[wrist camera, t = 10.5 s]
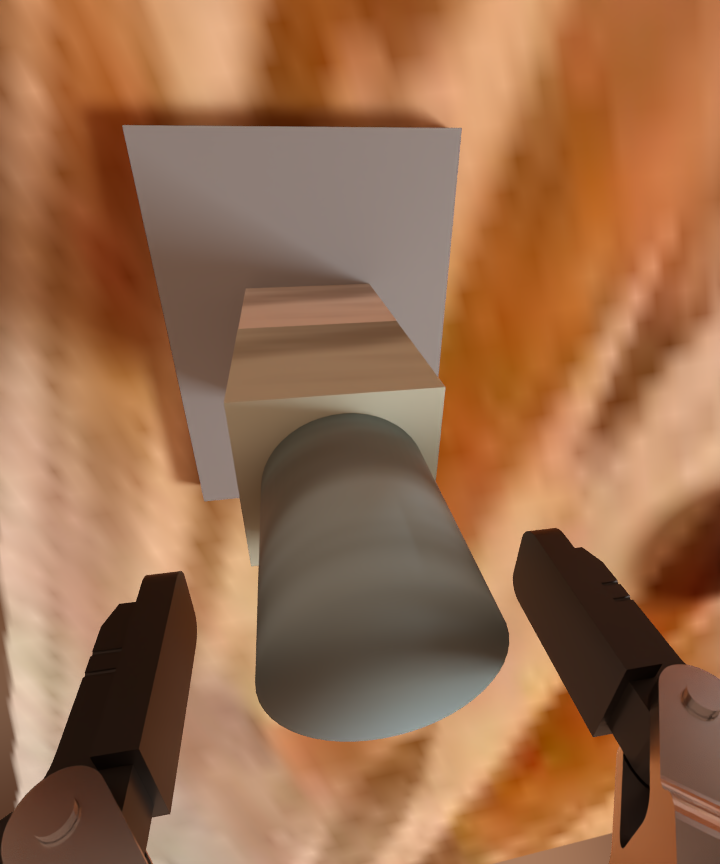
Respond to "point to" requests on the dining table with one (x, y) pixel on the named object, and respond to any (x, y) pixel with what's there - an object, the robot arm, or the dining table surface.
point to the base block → (312, 306)
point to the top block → (322, 393)
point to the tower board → (287, 239)
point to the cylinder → (366, 588)
